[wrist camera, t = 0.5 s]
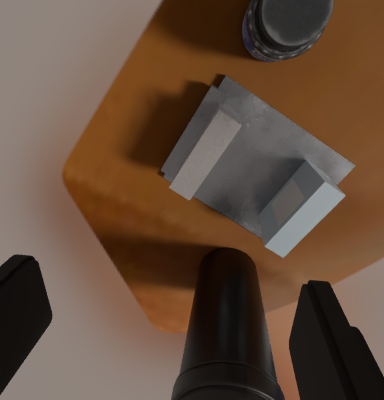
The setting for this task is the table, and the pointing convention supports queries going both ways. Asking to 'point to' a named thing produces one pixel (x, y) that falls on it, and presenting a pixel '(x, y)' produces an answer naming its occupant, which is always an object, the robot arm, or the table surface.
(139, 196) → the table surface
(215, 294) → the water bottle
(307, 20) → the pill bottle
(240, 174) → the vise base
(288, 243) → the sliding jaw
